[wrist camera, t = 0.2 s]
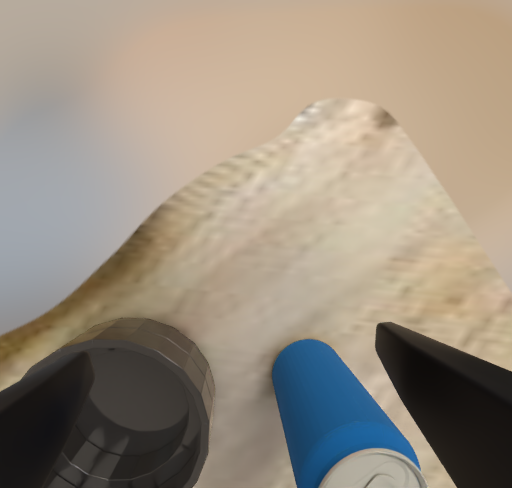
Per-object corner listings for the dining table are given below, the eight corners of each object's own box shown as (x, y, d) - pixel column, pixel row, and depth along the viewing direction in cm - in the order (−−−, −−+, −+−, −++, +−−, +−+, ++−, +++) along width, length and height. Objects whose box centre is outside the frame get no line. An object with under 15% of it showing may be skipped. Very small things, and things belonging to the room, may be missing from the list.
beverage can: (256, 376, 23) (276, 529, 11) (299, 321, 23) (365, 415, 11) (310, 415, 24) (382, 600, 12) (352, 362, 24) (466, 491, 12)
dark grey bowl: (149, 498, 23) (125, 571, 18) (17, 410, 22) (-48, 463, 17) (246, 377, 23) (248, 417, 18) (120, 283, 22) (86, 298, 17)
